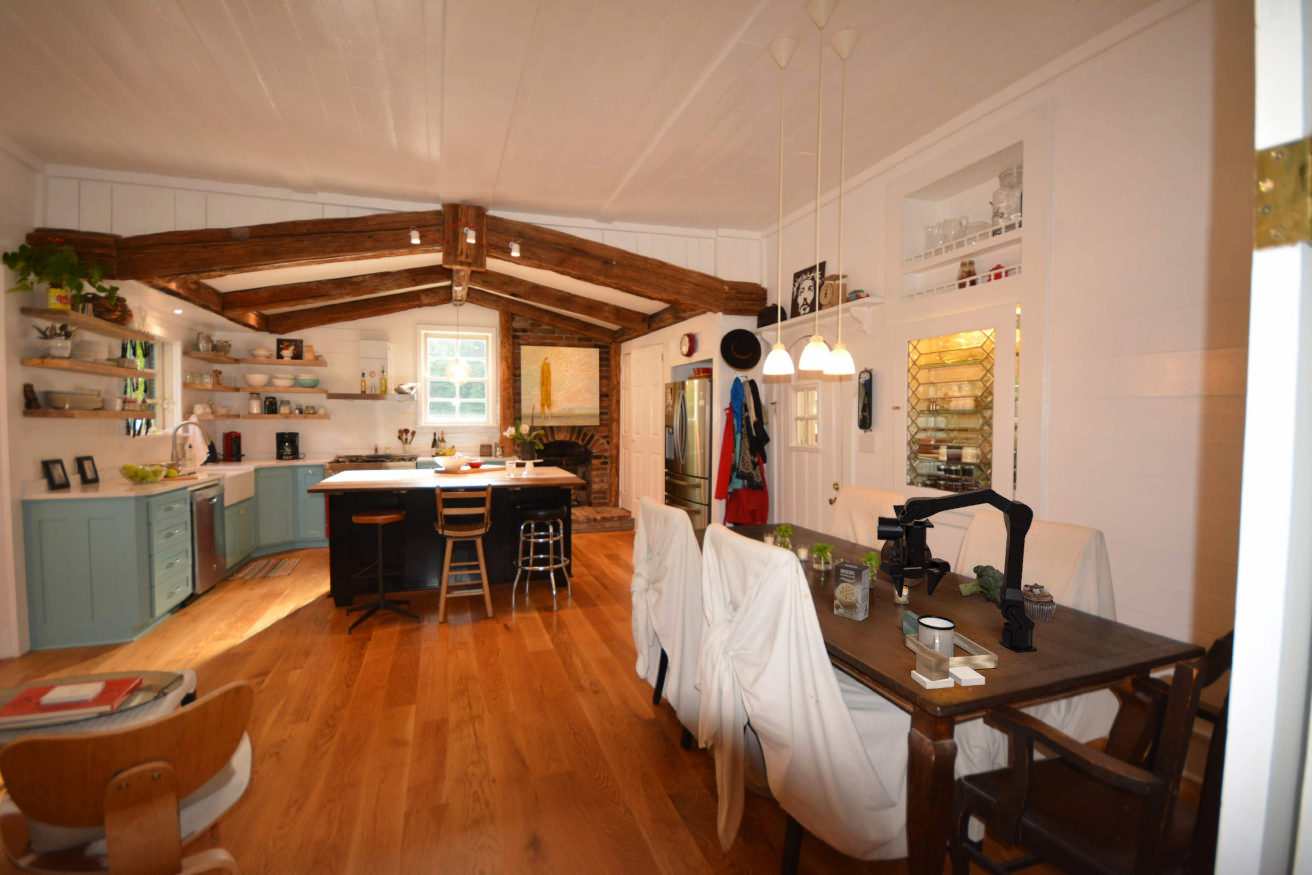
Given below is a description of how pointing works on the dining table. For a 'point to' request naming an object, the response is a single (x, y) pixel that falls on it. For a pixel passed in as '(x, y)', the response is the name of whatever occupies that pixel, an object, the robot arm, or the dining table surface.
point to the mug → (937, 633)
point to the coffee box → (851, 590)
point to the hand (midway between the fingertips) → (914, 596)
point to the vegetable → (984, 582)
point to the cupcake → (1038, 602)
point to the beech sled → (981, 655)
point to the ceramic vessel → (910, 575)
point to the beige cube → (932, 665)
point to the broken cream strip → (952, 678)
